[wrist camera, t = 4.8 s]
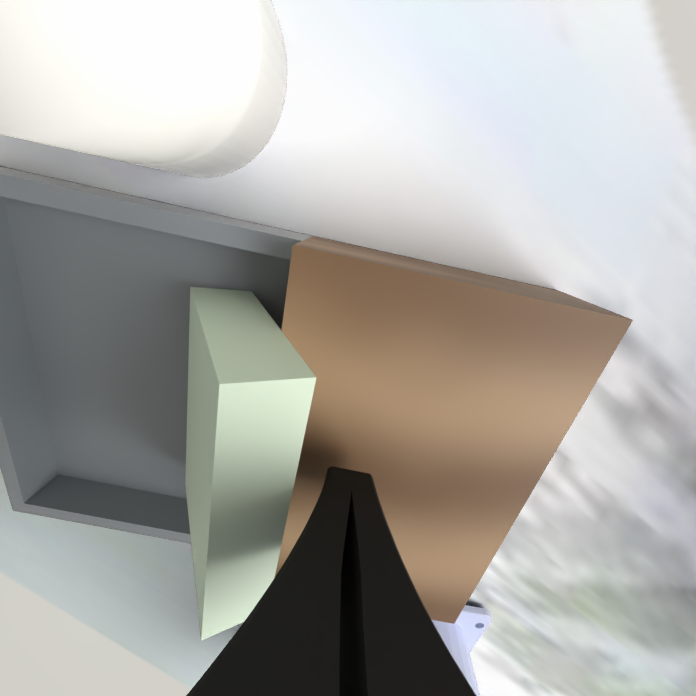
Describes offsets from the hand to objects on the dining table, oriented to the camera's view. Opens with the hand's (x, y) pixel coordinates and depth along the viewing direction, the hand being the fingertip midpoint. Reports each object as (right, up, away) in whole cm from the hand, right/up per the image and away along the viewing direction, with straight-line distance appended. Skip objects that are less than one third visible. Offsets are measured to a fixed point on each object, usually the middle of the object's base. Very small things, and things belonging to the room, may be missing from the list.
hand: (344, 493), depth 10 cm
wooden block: (+2, +1, +4) cm, 5 cm away
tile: (-3, +1, +1) cm, 3 cm away
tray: (-8, +3, +4) cm, 9 cm away
